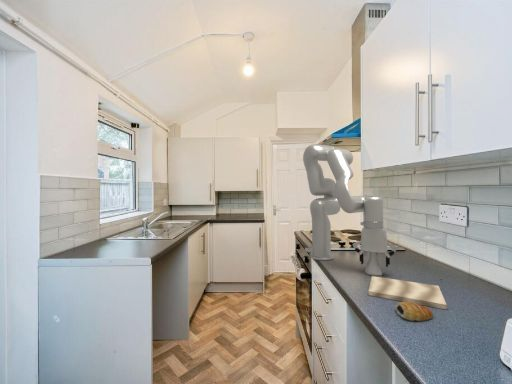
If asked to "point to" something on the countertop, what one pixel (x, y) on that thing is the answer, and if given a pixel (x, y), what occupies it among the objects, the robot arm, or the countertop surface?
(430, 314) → the pastry
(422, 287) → the birch board
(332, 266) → the countertop surface
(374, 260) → the flask
